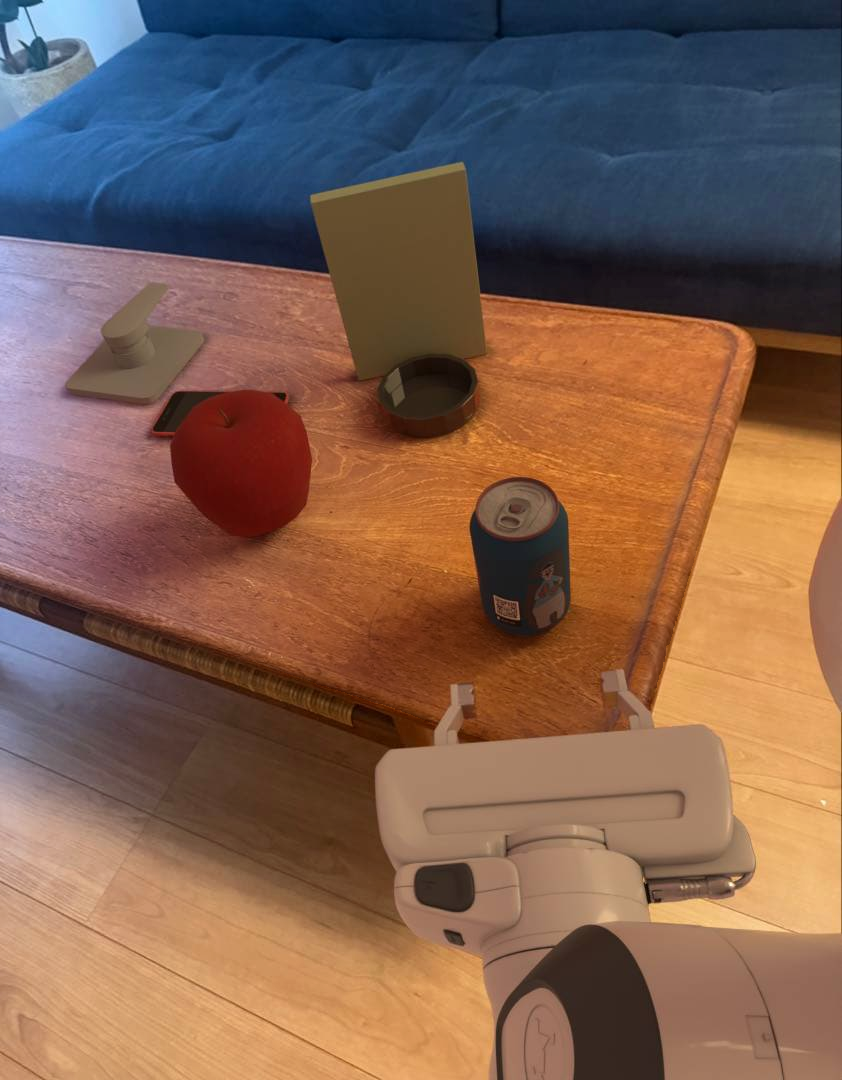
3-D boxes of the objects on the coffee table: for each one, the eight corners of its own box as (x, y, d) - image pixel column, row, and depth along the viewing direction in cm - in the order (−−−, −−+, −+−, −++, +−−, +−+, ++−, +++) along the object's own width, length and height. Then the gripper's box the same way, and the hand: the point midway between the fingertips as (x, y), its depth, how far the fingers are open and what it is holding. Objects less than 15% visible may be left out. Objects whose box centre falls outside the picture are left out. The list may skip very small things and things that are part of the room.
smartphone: (270, 436, 83) (147, 433, 86) (271, 440, 83) (149, 437, 87) (290, 391, 87) (173, 389, 90) (292, 395, 87) (175, 393, 91)
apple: (253, 587, 71) (198, 480, 61) (183, 524, 77) (122, 418, 67) (356, 506, 75) (320, 394, 65) (281, 453, 82) (238, 344, 72)
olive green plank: (484, 345, 88) (462, 161, 73) (487, 354, 87) (465, 169, 72) (357, 372, 88) (309, 194, 73) (358, 381, 87) (310, 203, 72)
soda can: (503, 564, 68) (490, 461, 59) (583, 586, 66) (582, 482, 57) (469, 628, 65) (449, 529, 56) (552, 655, 62) (546, 556, 53)
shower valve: (202, 285, 95) (131, 366, 86) (218, 324, 99) (152, 405, 90) (116, 278, 99) (41, 355, 90) (135, 316, 103) (65, 393, 94)
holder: (470, 364, 86) (468, 345, 84) (488, 426, 80) (485, 406, 78) (378, 384, 86) (373, 365, 85) (387, 447, 80) (382, 428, 78)
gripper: (776, 875, 40) (708, 638, 49) (364, 900, 42) (371, 669, 51) (756, 914, 44) (697, 691, 54) (386, 935, 47) (390, 717, 56)
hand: (536, 680), depth 52 cm, fingers open, 8 cm apart
